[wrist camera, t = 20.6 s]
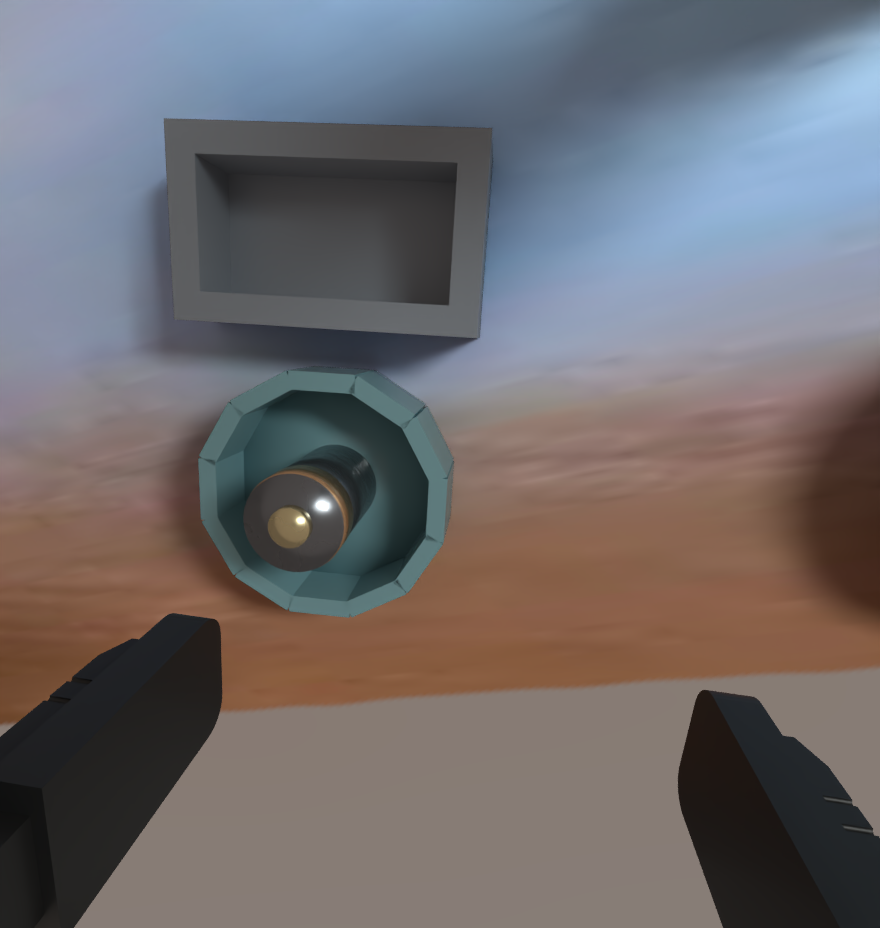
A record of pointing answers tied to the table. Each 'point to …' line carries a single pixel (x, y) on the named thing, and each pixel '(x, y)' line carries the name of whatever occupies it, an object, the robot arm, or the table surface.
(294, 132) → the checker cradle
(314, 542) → the cell
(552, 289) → the table surface
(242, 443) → the cup
